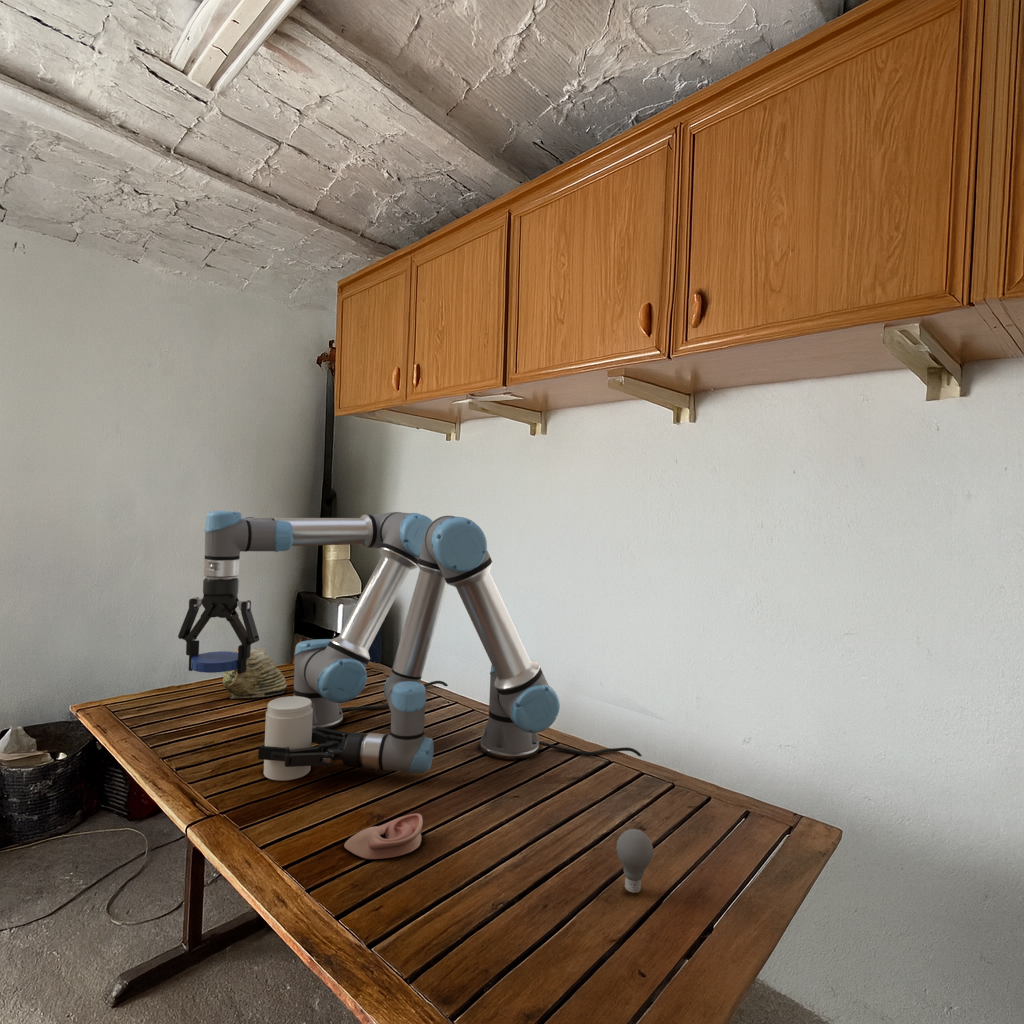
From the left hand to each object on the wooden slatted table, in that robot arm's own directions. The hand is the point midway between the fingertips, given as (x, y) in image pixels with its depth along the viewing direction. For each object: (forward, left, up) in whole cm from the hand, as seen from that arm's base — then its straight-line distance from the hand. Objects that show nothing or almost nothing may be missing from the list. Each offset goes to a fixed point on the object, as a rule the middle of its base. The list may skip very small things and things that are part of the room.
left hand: (217, 671), depth 148 cm
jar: (-9, +16, -22) cm, 28 cm away
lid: (0, 0, +3) cm, 3 cm away
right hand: (-7, +12, -15) cm, 21 cm away
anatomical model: (-4, +56, -22) cm, 60 cm away
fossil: (-32, -40, -22) cm, 55 cm away
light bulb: (-23, +97, -22) cm, 102 cm away
